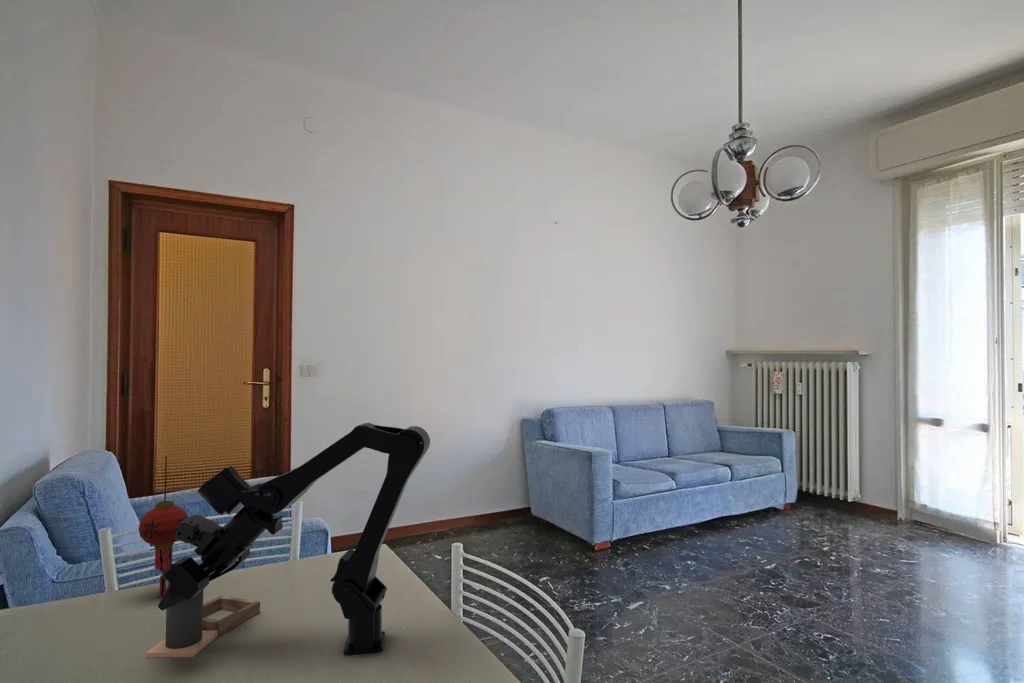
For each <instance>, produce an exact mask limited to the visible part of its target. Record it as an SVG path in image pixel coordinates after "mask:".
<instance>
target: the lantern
mask: <svg viewBox="0 0 1024 683" xmlns="http://www.w3.org/2000/svg"><path fill="white" fill-rule="evenodd" d="M164 458H165V459H164V460H165V461H164V463H165V464H164V498H163V499H164V500H163V501H159V502H156V503H155V506H154V507H153V508H152V509H150V510H149V511H147V512H145V514H144V515H143V516H142V518H141V519H140V522H139V525H138V533H139V538H141V540H143V541H144V542H145V543H147V544H148V545H152V546H153V548H154V569H155V570H158V571H159V572H161V573H163V572H164V571H165V570H166V569H167V568H168V567H169V566H170V565H171V564H173V548H174V545H175V543H176V542H177V541H179V540H178V539H177V538H176V536H175V535H176V532H175V528H176V527H178V526H179V525H180V523H181V522H183V520H184V519H186V518H188V517H189V514H188V513H187V512H186V510H185V509H183V507H181V506H177V505H176V503H175V501H174V500H167V467H168V466H167V464H168V462H167V461H168V460H167V459H168V455H165V456H164ZM166 590H167V579H166V578H165V577H164V576H163V574H162V575H160V577H159V596H158V597H159V598H160V597H163V595H164V594H165V592H166Z"/></svg>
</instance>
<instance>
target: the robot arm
mask: <svg viewBox="0 0 1024 683" xmlns="http://www.w3.org/2000/svg"><path fill="white" fill-rule="evenodd" d="M430 445H431V438H430V436H429V433H428V432H427V431H426V430H425V429H424V428H422V427H420V426H418V425H412V426H409V427H406V428H401V427H395V426H386V425H379V424H378V425H377V424H373V423H370V422H364V423H361V424H359V425H355V427H354V428H353V429H352V430H351V431H350V432H348V433H347V434H346V435H344V436H342V437H341V438H339V439H338V440H337V441H335V442H334V443H332V444H331V445H329V446H328V447H326V448H325V449H323V450H322V451H321V452H319V453H317V454H316V455H314V456H313V457H312V458H310V459H309V460H307V461H306V462H305V463H303V464H301V465H300V466H298V467H296V468H293V469H292V470H289V471H287V472H285V473H283V474H281V475H278V476H276V477H273V478H272V479H270V480H267V481H265V482H263V483H257V484H254V485H252V486H250V484H249V483H248V482H247V481H246V480H244V478H243V477H242V476H241V475H240V474H239V473H238V471H237V470H236V468H235V467H234V466H233V465H229V466H226V467H224V468H223V469H222V470H221V471H220V472H218V473H217V474H215V475H214V476H213V477H211V478H210V479H209V480H206V481H205V482H204V483H203V484H202V485H201V486H200V487H199V488H198V490H197V493H198V494H199V496H200V497H201V498H202V499H204V500H205V502H206V503H207V504H208V505H209V506H210V507H211V508H212V509H213V510H214V511H215V512H216V513H217V514H218V516H223V515H224V514H227V515H228V516H231V515H233V514H234V513H236V512H237V513H236V514H235V515H234V516H232V517H231V519H230V520H229V521H228V522H227V523H225V524H224V525H223V526H222V525H219V524H218V523H217V522H215V521H213V520H211V519H209V518H207V517H204V516H203V515H200V514H193V515H191V516H188V518H186V519H184V520H183V522H181V523H180V525H179V526H178V527H176V528H175V532H176V535H175V536H176V538H177V539H178V540H177V541H180V542H183V543H184V544H190V545H192V546H194V547H196V548H195V549H194V550H193V551H194V552H195V554H196V555H197V556H200V560H201V561H202V563H199V564H198V563H197V561H195V559H194V558H193V557H190V556H186V557H182V558H180V559H178V560H176V561H175V562H172V564H171V565H170V566H169V567H168V568H167V569H166V570H165V571H164V572H162V575H163V576H164V577H165V578H166V581H167V580H168V581H169V586H168V588H167V587H166V592H165V594H164V595H163V597H162V598H160V601H159V603H158V604H157V607H158V609H159V610H160V611H164V610H166V609H167V608H169V607H172V606H174V605H176V604H179V603H181V602H183V601H186V600H190V599H191V598H193V597H194V596H196V595H197V594H199V593H200V592H201V591H202V590H203V591H204V589H206V587H208V586H209V584H210V582H212V581H213V580H215V579H217V578H220V577H222V576H224V575H225V574H226V575H227V574H228V573H229V572H231V571H234V569H236V568H237V567H239V566H240V565H241V564H242V563H243V564H244V562H245V561H246V560H247V559H248V558H249V557H250V556H251V548H252V547H253V546H254V542H256V541H257V539H258V538H260V536H261V535H262V534H264V532H265V531H267V532H269V534H270V535H275V534H277V533H279V532H280V531H281V530H283V528H284V527H283V521H282V520H283V516H282V515H277V514H279V513H280V512H282V511H283V510H285V509H288V508H289V507H290V506H292V505H294V504H295V503H297V501H299V499H301V497H303V496H304V495H305V494H306V493H307V492H308V490H310V488H311V487H312V486H313V485H314V484H315V483H316V482H317V481H318V480H319V479H321V478H322V477H324V476H325V475H326V474H328V473H329V472H331V471H333V470H334V469H335V468H337V467H338V466H340V465H342V464H343V463H344V462H346V461H347V460H349V459H350V458H351V457H352V456H355V455H356V454H357V453H359V452H361V450H363V449H364V448H366V449H371V450H373V451H376V452H378V453H379V452H380V453H383V454H388V458H387V465H386V466H387V467H386V475H385V478H384V480H383V483H382V485H381V487H380V490H379V492H378V494H377V497H376V499H375V502H374V504H373V506H372V509H371V511H370V514H369V517H368V518H367V522H366V524H365V525H364V528H363V530H362V534H361V536H360V538H359V540H358V542H357V545H356V547H355V549H353V548H349V549H348V550H346V552H345V553H344V554H343V555H342V556H341V557H340V558H339V560H338V564H337V567H336V571H335V573H334V575H333V577H331V579H330V582H333V584H332V586H331V594H332V596H333V598H334V600H335V601H336V602H337V603H338V605H340V610H341V611H342V614H343V617H344V619H345V620H347V623H348V624H347V625H348V626H347V629H348V630H347V636H346V637H347V638H346V641H345V644H344V648H343V655H352V654H353V655H354V654H365V653H373V652H374V653H377V652H382V651H383V650H384V646H385V644H384V643H385V639H386V638H385V635H386V634H385V633H386V632H385V631H384V630H382V627H383V626H382V624H383V623H382V622H383V620H382V616H383V615H382V614H383V613H382V612H383V611H382V610H383V606H382V604H381V602H382V601H383V600H384V598H385V596H386V593H387V591H388V586H386V585H385V584H384V583H383V582H382V581H381V580H380V579H379V578H378V577H377V575H376V574H377V570H378V567H379V566H378V565H379V558H380V557H379V556H380V550H381V547H382V545H383V543H384V540H385V537H386V535H387V533H388V530H389V527H390V525H391V522H392V521H393V518H394V515H395V513H396V512H397V511H396V510H397V508H398V506H399V503H400V501H401V498H402V496H403V493H404V492H405V488H406V486H407V484H408V481H409V479H410V478H411V476H412V475H413V473H414V471H415V470H416V469H417V467H418V466H419V464H420V463H421V462H422V460H423V458H424V456H425V455H426V454H427V452H428V450H429V449H430ZM241 507H242V508H241ZM238 510H239V511H238Z"/></svg>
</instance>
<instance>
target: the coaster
mask: <svg viewBox="0 0 1024 683" xmlns="http://www.w3.org/2000/svg"><path fill="white" fill-rule="evenodd" d="M218 636H219V635H218V631H216V630H202V639H201V640H200V641H199V642H198V643H196V644H194V645H191V646H188V647H185V648H179V649H170V648H167V647H166V646H165V640H166V637H165V638H163V639H162V640H160V642H157V644H155V645H154V646H153V647H152V648H150V649H148V650H147V651H146V652H145V658H149V659H150V658H151V659H152V658H194V657H195V656H196V655H198V653H200V652H201V651H202V650H204V648H206V647H207V645H209V643H212V641H213V640H215V639H216V637H218Z"/></svg>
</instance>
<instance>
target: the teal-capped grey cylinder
mask: <svg viewBox="0 0 1024 683" xmlns="http://www.w3.org/2000/svg"><path fill="white" fill-rule="evenodd" d="M168 586H169V581H168V580H167V579H166V589H167V588H168ZM203 604H204V589H203V590H202V591H201V592H200V593H199V594H197V595H196V596H194V597H193V598H191V599H190V600H186V601H183V602H181V603H179V604H176V605H174V606H172V607H169V608H167V609H165V610H166V611H165V612H166V613H165V614H166V615H165V638H166V640H165V646H166V647H167V648H170V649H179V648H185V647H188V646H191V645H194V644H196V643H198V642H199V641H200V640H201V639H202V627H203Z"/></svg>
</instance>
